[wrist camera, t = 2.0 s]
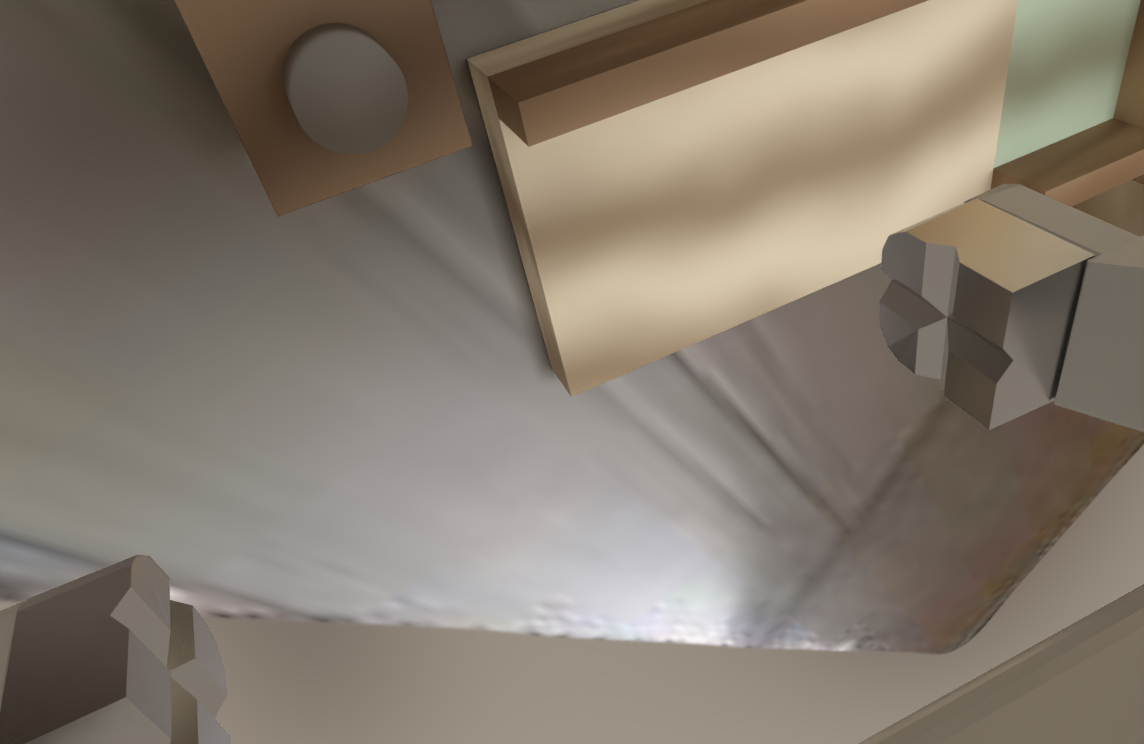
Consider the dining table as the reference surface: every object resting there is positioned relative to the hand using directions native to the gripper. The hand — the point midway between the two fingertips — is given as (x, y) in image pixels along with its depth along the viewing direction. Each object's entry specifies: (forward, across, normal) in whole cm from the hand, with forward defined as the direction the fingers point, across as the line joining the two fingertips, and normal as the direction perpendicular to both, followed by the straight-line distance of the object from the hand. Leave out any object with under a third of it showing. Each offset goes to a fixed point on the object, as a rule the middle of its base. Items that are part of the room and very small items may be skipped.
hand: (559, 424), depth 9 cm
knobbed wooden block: (+18, 0, 0) cm, 18 cm away
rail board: (+18, -17, +8) cm, 26 cm away
